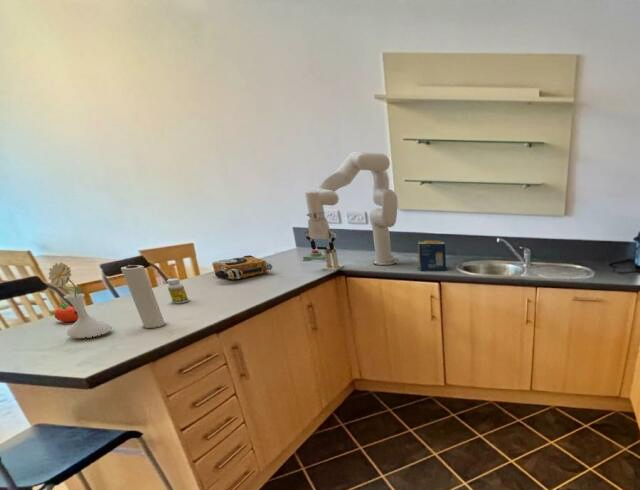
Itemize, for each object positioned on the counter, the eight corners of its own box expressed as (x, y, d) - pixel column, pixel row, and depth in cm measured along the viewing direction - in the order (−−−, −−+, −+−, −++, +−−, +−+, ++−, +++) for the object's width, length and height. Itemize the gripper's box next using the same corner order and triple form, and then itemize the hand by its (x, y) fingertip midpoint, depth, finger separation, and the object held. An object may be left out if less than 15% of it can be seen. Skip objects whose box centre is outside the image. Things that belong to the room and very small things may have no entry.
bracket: (336, 271, 235) (333, 249, 230) (322, 270, 235) (318, 249, 230) (343, 267, 244) (340, 246, 239) (329, 266, 244) (326, 246, 239)
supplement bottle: (189, 299, 180) (182, 277, 176) (187, 303, 176) (179, 280, 171) (174, 300, 178) (166, 278, 174) (171, 304, 174) (163, 281, 169)
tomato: (82, 316, 158) (74, 299, 155) (86, 321, 153) (78, 304, 150) (56, 320, 153) (47, 303, 150) (59, 325, 148) (50, 308, 145)
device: (278, 258, 221) (221, 268, 197) (282, 274, 225) (226, 285, 201) (252, 253, 230) (194, 262, 207) (256, 268, 234) (199, 278, 210)
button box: (329, 258, 265) (328, 251, 264) (322, 261, 257) (321, 254, 255) (310, 257, 265) (309, 250, 264) (303, 260, 257) (302, 253, 255)
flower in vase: (64, 336, 140) (26, 260, 129) (107, 327, 149) (76, 255, 137) (77, 345, 134) (38, 267, 123) (121, 335, 143) (89, 261, 131)
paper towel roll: (161, 327, 150) (138, 268, 140) (141, 329, 148) (116, 268, 138) (169, 321, 156) (148, 263, 146) (150, 322, 154) (127, 264, 144)
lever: (326, 250, 225) (326, 245, 224) (317, 250, 225) (316, 245, 224) (335, 253, 237) (335, 249, 236) (327, 253, 237) (326, 249, 236)
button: (319, 252, 261) (319, 250, 260) (317, 254, 258) (316, 251, 257) (314, 252, 261) (313, 249, 260) (311, 253, 258) (311, 250, 257)
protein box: (419, 267, 251) (417, 240, 244) (444, 266, 255) (443, 240, 248) (420, 271, 242) (418, 243, 235) (446, 270, 246) (445, 243, 239)
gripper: (297, 216, 215) (304, 250, 223) (330, 217, 215) (336, 251, 223) (304, 214, 221) (310, 247, 229) (336, 215, 221) (341, 248, 229)
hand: (323, 249), depth 226 cm, fingers open, 9 cm apart
